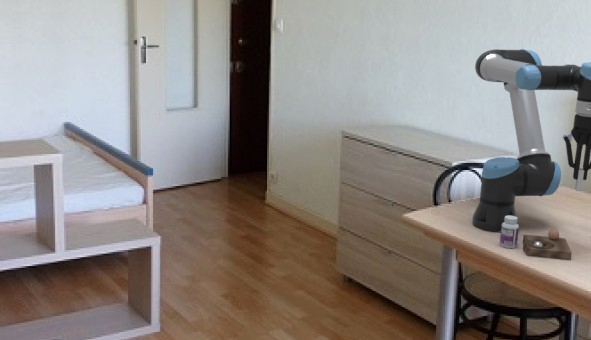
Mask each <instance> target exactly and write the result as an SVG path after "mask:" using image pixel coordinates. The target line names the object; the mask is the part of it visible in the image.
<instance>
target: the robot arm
mask: <svg viewBox="0 0 591 340" xmlns="http://www.w3.org/2000/svg"><path fill="white" fill-rule="evenodd" d="M474 69H475V72H476V75H477V76H478V77H479V78H480V79H481V80H483V81H485V82H491V83H502V84H503V87H504V88H503V89H504V90H505V91H506V92H508V93H509V98H510V104H511V109H512V116H513V122H514V127H515V128H514V129H515V135H516V140H517V146H518V147H517V148H518V152H519V155H518V157H517V158H514V157H508V156H507V157H506V156H505V157H504V156H501V157H500V156H498V157H492V158H489V159H487V160H486V161H485V162H484V164H483V167H482V171H481V182H480V193H479V194H480V195H479V203H478V204H477V207H476V209H475V210H474V213H473V215H472V222H471V223H472V225H473V226H474V227H476V228H477V229H478V228H479V229H481V230H485V231H489V232H494V233H495V232H496V233H501V227H502V223H503V222H505V220H504V219H505V216H516V217H517V212H516V208H515V202H516V201H515V200H516V197H543V196H551V195H553V194H554V193H555V192H557V190H558V189H559V186H560V183H561V179H562V171H561V167H560V165H559V163H558V162H557V161H553V160H552V155H551V154H550V153H549V152H547V151H546V149H545V143H544V137H543V131H542V126H541V125H542V124H541V119H540V114H539V108H538V102H537V96H536V91H545V90H546V91H549V90H550V91H573V92H577V97H576V105H575V111H574V112H575V113H576V114H575V115H574V120H573V125H572V126H573V127H572V129H571V130H570V132H569V133H568V134H564V135H563V136H562V139H563V141H564V142H565V147H566V155H567V163H568V166H569V167H570V168H573V173H572V175H573V176H572V177H573V180H575V185H574V186H575V187H574V189H575V191H577V192H582V190H583V183H584V181H586V180H587V179H588V173H589V170H591V159H590V157H591V62H582V64H581V66H579V65H577V64H566V63H565V64H563V65H543V63H542V59H541V58H540V56H539V55H538V53H536V52H535V51H534V50H529V49H524V48H523V49H489V50H487V51H485V52H483V53H481V54H480V55H479V56H478V58H477V59H476V61H475V66H474ZM572 139H573V140H574V141H575V142H576V149H575V156H574V157H575V158H574V157H573V151H572V149H573V148H572V143H571V142H572ZM584 147H585V149H584V155H583V163H582V167H581V168H580V166H581V162H582V161H581V159H582V153H583V148H584ZM517 218H518V217H517ZM517 224H518V221H517ZM518 225H519V224H518Z"/></svg>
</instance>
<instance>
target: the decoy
mask: <svg viewBox="0 0 591 340" xmlns="http://www.w3.org/2000/svg"><path fill="white" fill-rule="evenodd" d="M547 235H548V236H547V237H549V238H551V239H553V240H555V239H557V238H560V232H559V230H558V229H556V228H552V229H550V230H548V232H547Z"/></svg>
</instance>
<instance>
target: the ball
mask: <svg viewBox="0 0 591 340" xmlns="http://www.w3.org/2000/svg"><path fill="white" fill-rule="evenodd" d="M533 245H535V246H539V247H543V244H542V243H541V242H539V241H536V242H534V243H533Z"/></svg>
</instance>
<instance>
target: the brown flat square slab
mask: <svg viewBox="0 0 591 340" xmlns="http://www.w3.org/2000/svg"><path fill="white" fill-rule="evenodd" d="M522 237H523V238H522V244H523V247H522V248H523V252H524V253H525V255H526V257H532V258H546V259H552V260H554V259H555V260H564V261H565V260H566V261H571V260H572V253H573V252H572V250H571V248H570V246H569V243H568V241H567V239H566V238H564V237H563V238H562V237H558V238H557V239H555V240H553V239H551V238H549V236H543V235H531V234H523V236H522ZM536 241H539V242H541V243H542V244H543V247H539V246H535V245H533V243H534V242H536Z"/></svg>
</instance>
